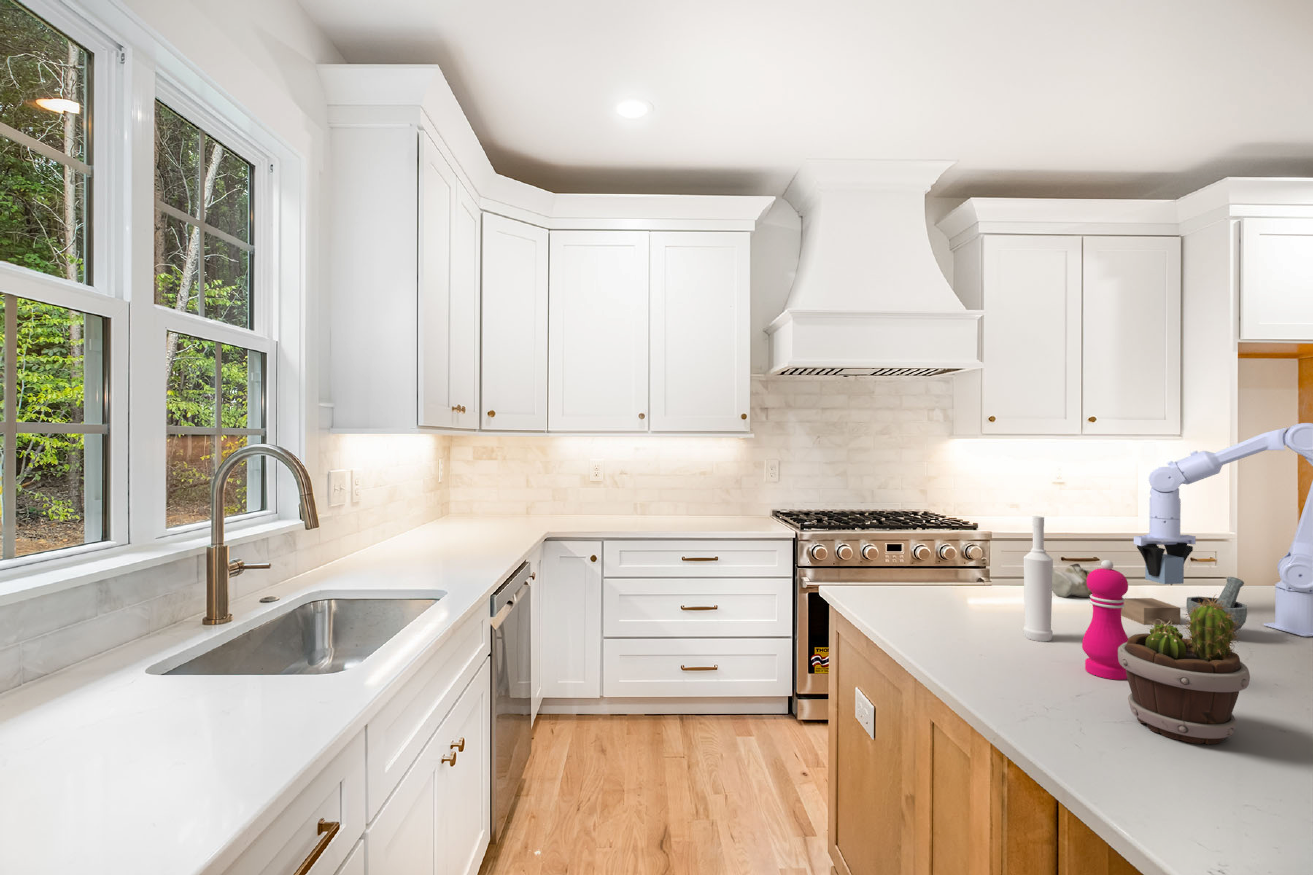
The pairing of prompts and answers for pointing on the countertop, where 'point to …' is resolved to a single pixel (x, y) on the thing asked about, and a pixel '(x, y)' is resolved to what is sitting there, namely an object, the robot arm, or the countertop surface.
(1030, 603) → the bottle
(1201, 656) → the flowerpot
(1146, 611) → the walnut plinth
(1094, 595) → the pepper mill
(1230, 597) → the mortar and pestle
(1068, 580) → the grey rock
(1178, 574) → the slate block
